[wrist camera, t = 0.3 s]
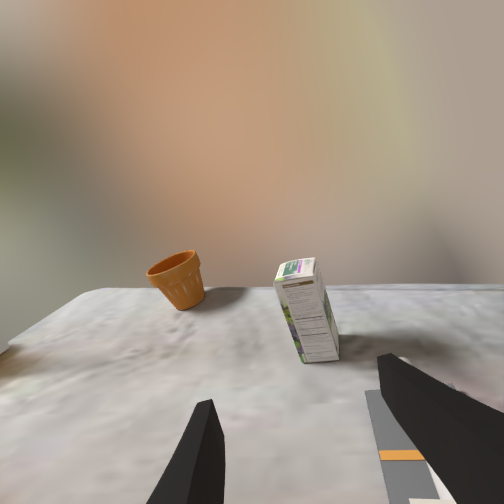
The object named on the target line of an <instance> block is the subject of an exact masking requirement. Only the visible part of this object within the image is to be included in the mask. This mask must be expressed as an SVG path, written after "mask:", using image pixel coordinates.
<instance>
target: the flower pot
mask: <svg viewBox="0 0 504 504" xmlns="http://www.w3.org/2000/svg"><path fill="white" fill-rule="evenodd" d="M199 267H200V260H199V258H198V256H197V253H196V251H194V250H187V251H183V252H180V253H177V254H175V255H172V256H170V257H168V258H166V259H164V260H162V261H160V262H159V263H157V264H155V265H154V266H153V267H151V268H150V269H149V270H148V271H147V273H146V275H147V277H148V279H149V281H150V282H151V284H152V285H153V286H154V287H157V288H159V289H160V290H161V292H162V293H163V294H164V295H165V296H166V297H167V299H168V300H169V301H170V302H171V303H172V304H173V305H174V306H175V307H176V309H178V310H185V309H188V308H191V307H193V306H195V305H197V304H198V303H199V302H201V301H202V300H203V298H204V296H205V292H204V288H203V283H202V279H201V274H200V270H199Z"/></svg>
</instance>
